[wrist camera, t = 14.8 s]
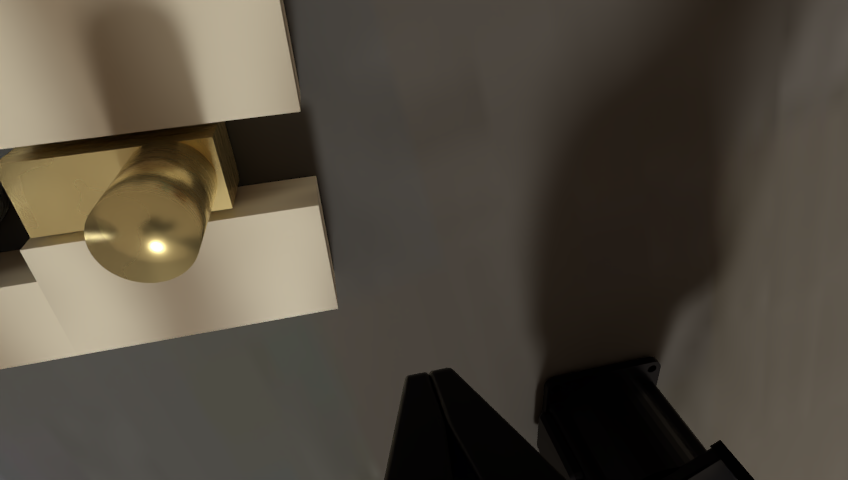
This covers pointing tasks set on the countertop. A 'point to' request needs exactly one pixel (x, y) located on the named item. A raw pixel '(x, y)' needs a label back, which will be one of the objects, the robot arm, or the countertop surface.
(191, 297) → the dock
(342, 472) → the countertop surface
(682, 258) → the countertop surface
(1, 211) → the cylinder
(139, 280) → the pin
